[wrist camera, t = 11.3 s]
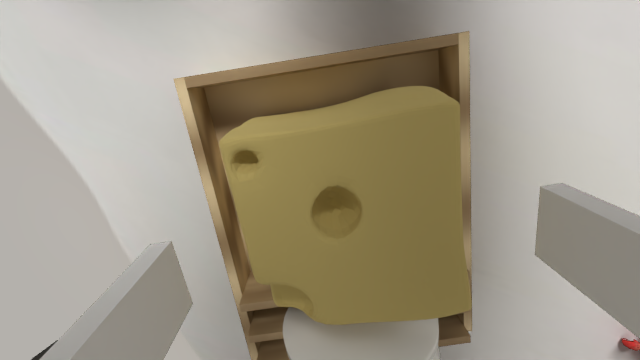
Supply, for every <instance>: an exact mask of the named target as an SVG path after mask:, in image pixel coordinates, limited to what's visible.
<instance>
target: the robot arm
mask: <svg viewBox="0 0 640 360" xmlns="http://www.w3.org/2000/svg"><path fill="white" fill-rule="evenodd" d="M535 255H536V256H537V257H538V258H540V259H541V260H542V261H543V262H545V263H546V264H547V265H548V266H550V267H551V268H552V269H553V270H555V271H556V272H557V273H558V274H560V275H561V276H562V277H563V278H565V279H566V280H567V281H568V282H570V283H571V284H572V285H573V286H574V287H576V288H577V289H578V290H579V291H581V292H582V293H583V294H584V295H586V296H587V297H588V298H589V299H591V300H592V301H593V302H594V303H596V304H597V305H598V306H599V307H601V308H602V309H603V310H604V311H606V312H607V313H608V314H609V315H611V316H612V317H613V318H614V319H616V320H617V321H618V322H619V323H621V324H622V325H623V326H624V327H626V328H627V329H628V330H629V331H631V332H632V333H633V334H634V335H636V336H637V337H638V338H639V339H640V216H639V215H636V214H634V213H631V212H629V211H627V210H624V209H622V208H620V207H617V206H615V205H613V204H610V203H608V202H606V201H603V200H601V199H599V198H596V197H594V196H592V195H589V194H587V193H585V192H582V191H580V190H578V189H575V188H573V187H571V186H568V185H566V184H563V183H560V184H553V185H546V186H540V197H539V209H538V222H537V234H536V246H535ZM192 304H193V302H192V300H191V297H190V294H189V291H188V288H187V285H186V282H185V279H184V276H183V274H182V271H181V268H180V265H179V262H178V259H177V256H176V253H175V250H174V247H173V245H172V242H171V241H169V242H162V243H155V244H150V245H149V246H148V247H147V248H146V249H145V250H144V251H143V252H142V254H141V255H140V256H139V257H138V258H137V259H136V260H135V261H134V262H133V263H132V264H131V265H130V266H129V267H128V268H127V269H126V270H125V271H124V272H123V273H122V274H121V275H120V276H119V277H118V278H117V280H116V281H115V282H114V283H113V284H112V285H111V286H110V287H109V288H108V289H107V290H106V291H105V292H104V293H103V294H102V295H101V296H100V297H99V298H98V299H97V300H96V301H95V302H94V303H93V304H92V305H91V307H90V308H89V309H88V310H87V311H86V312H85V313H84V314H83V315H82V316H81V317H80V318H79V319H78V320H77V321H76V322H75V323H74V324H73V325H72V326H71V327H70V328H69V329H68V330H67V331H66V333H64V335H63V336H62V337H61V338H60V339H59V340H57V341H55V342H54V343H53V344H51V345H50V346H49V347H47V348H46V349H45V350H43V351H42V352H41V353H39V354H38V355H37V356H35V357H34V358H33V359H32V360H163V359H164V358H165V356H166V354H167V352H168V350H169V348H170V346H171V344H172V342H173V340H174V339H175V337H176V334H177V333H178V331H179V329H180V327H181V325H182V323H183V321H184V320H185V318H186V316H187V314H188V312H189V310H190V308H191V306H192Z"/></svg>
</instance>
